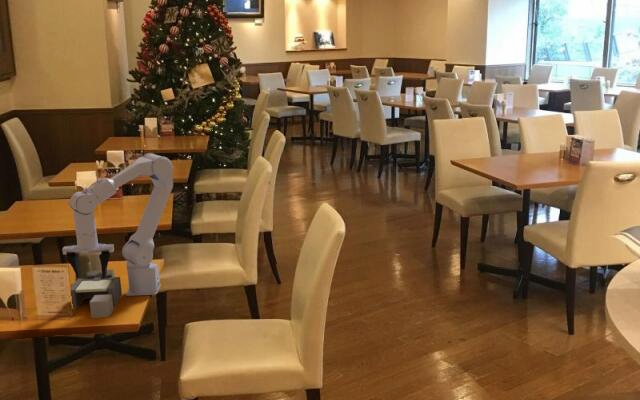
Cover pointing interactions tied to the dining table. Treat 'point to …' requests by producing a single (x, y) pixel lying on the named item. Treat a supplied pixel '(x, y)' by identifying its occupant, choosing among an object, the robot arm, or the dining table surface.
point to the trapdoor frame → (112, 289)
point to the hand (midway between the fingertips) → (91, 275)
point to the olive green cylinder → (83, 265)
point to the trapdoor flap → (98, 283)
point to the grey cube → (101, 306)
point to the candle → (95, 261)
